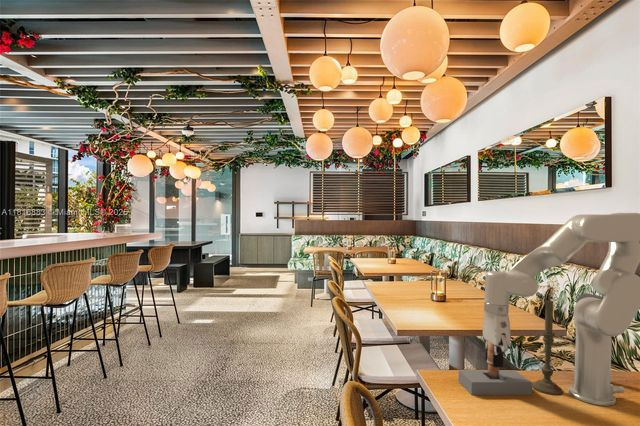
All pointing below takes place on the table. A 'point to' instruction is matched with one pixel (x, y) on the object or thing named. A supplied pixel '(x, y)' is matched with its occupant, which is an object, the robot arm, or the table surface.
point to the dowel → (491, 369)
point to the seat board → (495, 383)
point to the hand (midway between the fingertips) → (493, 363)
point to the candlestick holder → (548, 356)
